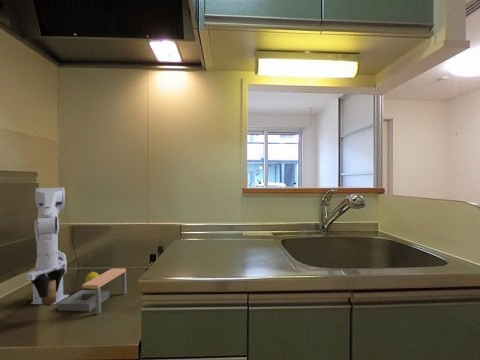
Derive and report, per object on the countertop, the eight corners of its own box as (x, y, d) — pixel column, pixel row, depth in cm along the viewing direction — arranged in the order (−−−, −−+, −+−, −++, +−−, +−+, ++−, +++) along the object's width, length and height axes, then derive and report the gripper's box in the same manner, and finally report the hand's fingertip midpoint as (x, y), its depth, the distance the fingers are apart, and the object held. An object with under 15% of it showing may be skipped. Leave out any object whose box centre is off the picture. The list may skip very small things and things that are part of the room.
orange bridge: (82, 314, 96) (81, 284, 96) (112, 293, 114) (112, 268, 114) (99, 314, 95) (98, 285, 95) (126, 293, 113) (126, 268, 113)
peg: (38, 305, 91) (38, 283, 91) (48, 299, 95) (47, 279, 95) (49, 305, 91) (49, 283, 91) (59, 300, 95) (58, 279, 95)
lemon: (94, 293, 114) (93, 273, 114) (82, 292, 115) (81, 273, 115) (103, 288, 119) (102, 269, 119) (92, 287, 120) (91, 269, 120)
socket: (57, 310, 99) (57, 303, 99) (81, 296, 111) (80, 290, 111) (89, 311, 98) (89, 304, 98) (109, 297, 110) (109, 290, 110)
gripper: (40, 260, 85) (41, 304, 85) (74, 248, 100) (75, 286, 100) (19, 259, 86) (21, 303, 86) (56, 248, 101) (57, 286, 101)
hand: (48, 294), depth 93 cm, fingers closed on peg, 4 cm apart
